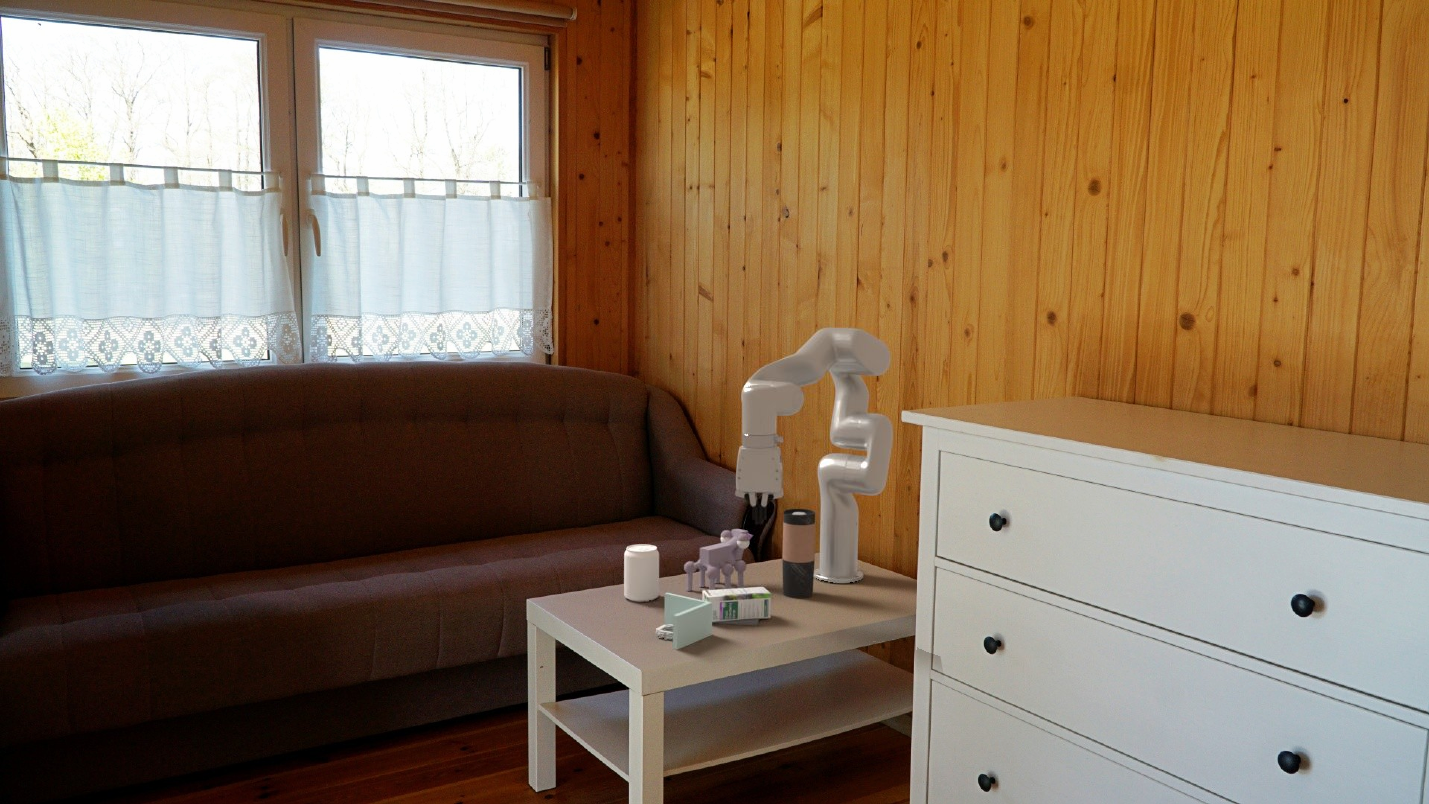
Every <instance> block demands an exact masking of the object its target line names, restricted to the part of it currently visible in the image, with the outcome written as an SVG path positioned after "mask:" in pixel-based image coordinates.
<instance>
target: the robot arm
mask: <svg viewBox="0 0 1429 804" xmlns="http://www.w3.org/2000/svg"><path fill="white" fill-rule="evenodd" d="M891 360H892V356H891V352H890V349H889V347H888V346H887V344H886V343H885V342H884V341H882V340H881V339H879V338H878V337H876V336H874V335H873V334H871V333H869V332H867V331H866V330H864V329H860V328H854V327H824V328H821V329H819V330H817V331H816V332H815V333H814V334H813V335H812V336H811V337H810V338H809V339H808V340H807V341H806V342H805V343H804V344H803V345H802V346H801V347H800V348H799V349H798V350H797V351H796V352H795V353H794V354H790V355H788V356H785V357H783V358H781V359H779V360H778V359H777V360H776V361H773V362H771V363H767V364H766V365H764V366H763V367H760V368H759V369H758V370H757V371H756V372H754V373H753V375H752V376H751V377H749V378H748V380H747V381H746V383H745V384H744V386H743V388H742V390H741V396H740V400H741V409H742V410H741V417H742V418H741V423H742V424H741V427H742V428H741V429H742V430H741V432H742V434H741V441H742V443H741V444H742V445H740V446H739V449H738V452H737V453H738V454H737V460H736V472H735V473H736V474H735V491H734V495H735V497H738V498H742V499H745V500H746V501H747V502H748V503H749V505H750V506H751V512H752V513H751V517H752V518H751V519H752V520H754V525H763V523H764V521H765V520H767V505H768V504H770V502H771V501H772V500H775V499H781V498H783V496H784V489H783V485H784V484H783V483H784V482H783V481H784V479H783V478H784V475H783V459H782V451H781V448H780V446H779V445H778V444H780V443H784V436H780V435H778V434H777V416H786V417H787V416H789V417H790V416H792V415H795V414H797V413H798V412H800V410H801V409H802V407H803V405H804V402H805V397H804V396H805V395H804V392H803V390H802V388H803V387H807V386H809V385H813V384H816V383H818V382H819V381H820V380H821V379H822V378H823V377H824V376H825V375H826V374H827V373H828V372H829V374H830V377H831V378H832V381H833V385H834V388H835V389H834V390H835V395H834V403H833V408H832V409H833V411H832V416H831V417H832V418H831V421H830V423H831V424H830V428H829V431H830V432H829V439H830V442H831V444H832V445H834V447H836V448H841V449H847V450H856V451H863V452H864V451H865V452H866V455H858V454H850V453H839V452H835V453H828V454H826V455H824V456H822V458H821V459H820V460H819V461H818V462H819V463H818V466H817V479H818V485H819V493H820V523H819V524H820V525H819V526H820V528H819V529H820V530H819V532H820V533H819V567H818V568H816V569H814V579H816V578H817V579H816V580H818V579H819V580H818V581H821V580H824V581H828V582H827V583H830V582H833V583H832V584H851V583H850V582H853V583H856V582H855V581H857V582H859V581H858V580H860V581H862V580H863V579H864V573H863V571H861V570H859V569H858V555H859V553H858V549H859V547H858V546H859V519H860V516H859V515H860V514H859V506H858V503H857V500H856V498H855V497H854V495H853V494H857V495H864V496H878V495H879V494H881V493H882V492H883V491H884V489H885V487H886V484H887V480H888V474H889V467H890V460H891V454H892V448H893V441H894V429H893V424H892V421H891V419H890V418H889V417H888V416H886V415H884V414H881V413H875V412H873V413H872V412H868V410H869V409H868V408H869V403H870V402H869V401H870V391H869V388H868V386H867V385H866V382H865V381H864V380H863V378H862V376H871V377H877V376H882V375H884V374H885V373H886V372H887V371H888V370H889V368H890V366H891ZM801 387H802V388H801ZM777 445H778V446H777ZM757 494H762V495H761V496H762V497H761V502H760V503H759V501H758V497H757ZM862 578H863V579H862ZM861 579H862V580H861ZM824 581H823V582H824Z"/></svg>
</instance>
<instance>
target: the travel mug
mask: <svg viewBox="0 0 1429 804" xmlns="http://www.w3.org/2000/svg"><path fill="white" fill-rule="evenodd" d="M782 522H783V523H782V524H783V525H782V528H783V529H782V530H783V531H782V558H781V559H782V560H781V561H782V562H781V563H782V564H781V565H782V594H783V596H785V597H788V598H791V597H792V599H807V598H811V597H812V596H813V595H812V594H814V579H815V577H814V570H815V557H816V556H815V553H816V547H815V546H816V544H815V543H816V512H815V510H812V509H805V508H789V509H785V510H784V511H783V521H782Z"/></svg>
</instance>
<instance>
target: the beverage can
mask: <svg viewBox="0 0 1429 804" xmlns="http://www.w3.org/2000/svg"><path fill="white" fill-rule="evenodd" d="M625 549H626V550H625V551H624V554H623V555H624V556H623V559H624V561H623V564H624V565H623V566H624V567H623V569H624V570H623V578H624V579H623V583H624V585H623V587H624V588H623V595H624V598H625V599H628V600H629V601H632V602H638V603H642V602H643V603H644V601H645V602H650V601H649V600H651V601H654V600H656V599H657V598H658V597H659V593H660V591H659V590H660V589H659V588H660V553H659V550H658V547H657V546H656V545H652V544H646V543H645V544H642V543H641V544H640V543H639V544H632V545H628V546H627V547H626V548H625Z"/></svg>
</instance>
